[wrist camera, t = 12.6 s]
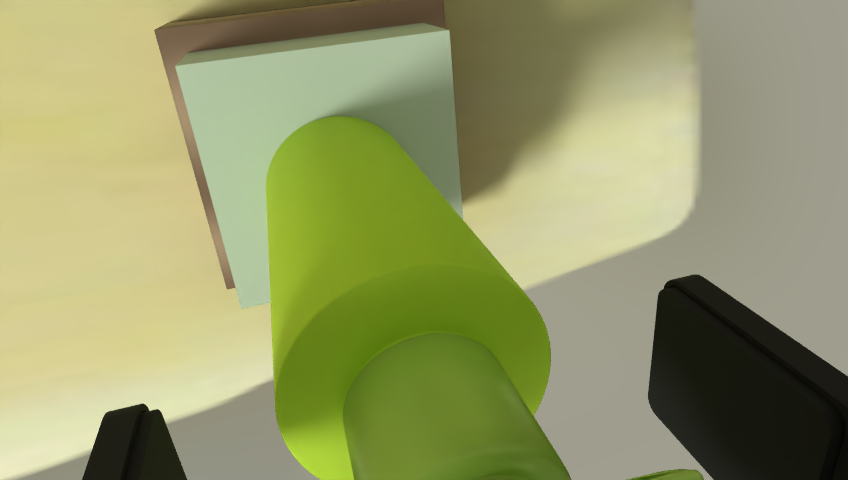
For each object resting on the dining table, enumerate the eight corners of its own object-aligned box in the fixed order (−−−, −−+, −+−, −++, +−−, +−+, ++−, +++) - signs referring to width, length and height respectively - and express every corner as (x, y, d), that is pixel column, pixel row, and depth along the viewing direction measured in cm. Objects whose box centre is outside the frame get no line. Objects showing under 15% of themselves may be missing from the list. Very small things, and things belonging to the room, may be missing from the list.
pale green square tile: (187, 52, 24) (175, 66, 20) (423, 22, 26) (449, 30, 22) (243, 267, 28) (241, 308, 25) (441, 227, 30) (466, 261, 26)
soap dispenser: (408, 83, 23) (947, 463, 5) (413, 244, 25) (766, 848, 8) (251, 93, 21) (227, 663, 4) (275, 262, 24) (328, 1034, 7)
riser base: (167, 22, 27) (154, 29, 23) (420, -7, 29) (442, -5, 25) (230, 254, 32) (226, 289, 28) (440, 214, 34) (461, 241, 31)
